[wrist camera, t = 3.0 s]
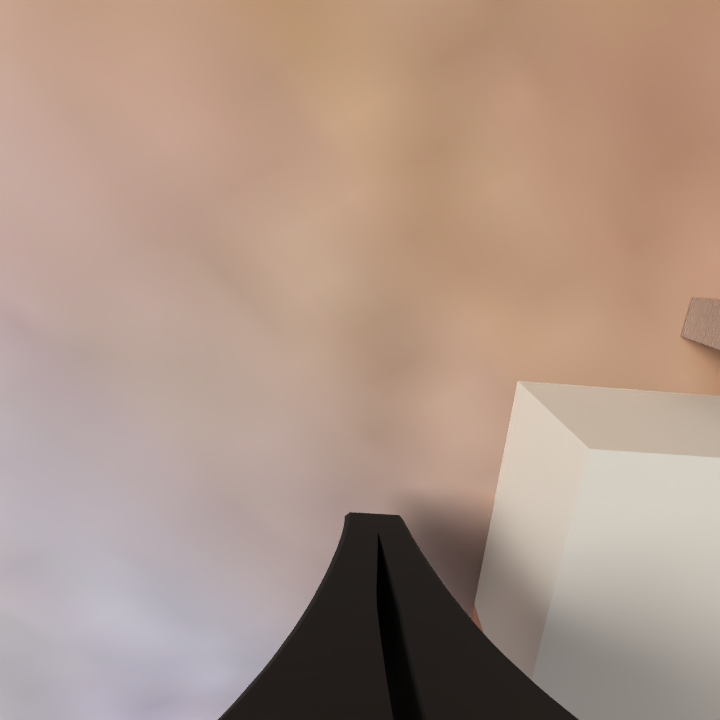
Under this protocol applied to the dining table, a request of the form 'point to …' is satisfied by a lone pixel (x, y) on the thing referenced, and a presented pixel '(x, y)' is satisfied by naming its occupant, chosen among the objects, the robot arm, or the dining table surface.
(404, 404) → the dining table surface
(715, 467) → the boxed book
